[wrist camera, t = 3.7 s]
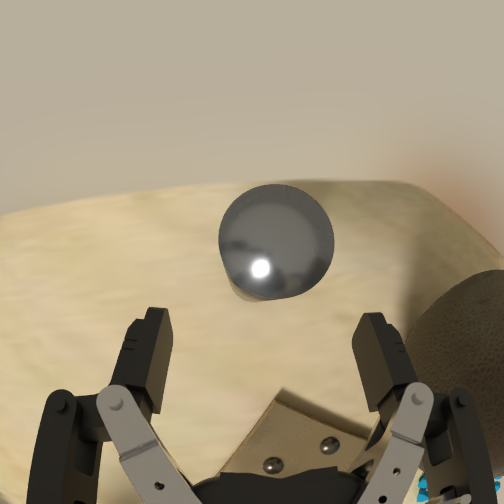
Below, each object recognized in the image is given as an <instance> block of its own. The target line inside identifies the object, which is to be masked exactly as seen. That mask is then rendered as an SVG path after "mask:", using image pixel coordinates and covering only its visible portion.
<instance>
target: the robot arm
mask: <svg viewBox="0 0 504 504" xmlns="http://www.w3.org/2000/svg"><path fill="white" fill-rule="evenodd" d="M124 339H125V340H124V341H123V344H122V349H121V350H120V353H119V356H118V360H117V363H116V366H115V369H114V372H113V376H112V379H111V382H110V383H109V385H108V386H107V387H105V388H104V389H102V390H101V391H100V393H98V394H94V395H86V396H74V395H73V394H72V393H71V392H69V391H67V390H64V389H59V390H56V391H54V392H52V393H51V394H50V395H49V397H48V398H47V401H46V404H45V407H44V411H43V415H42V418H41V422H40V426H39V430H38V434H37V439H36V443H35V448H34V453H33V458H32V464H31V470H30V476H29V483H28V491H27V500H26V504H96V501H97V488H98V478H99V469H100V461H101V453H102V446H103V442H108V441H113V443H114V445H115V447H116V449H117V451H118V453H119V456H120V457H119V460H120V463H121V465H122V467H123V469H124V471H125V473H126V475H127V476H128V478H129V480H130V481H131V483H132V485H133V486H134V488H135V490H136V491H137V493H138V494H139V496H140V497H141V499H142V500H143V502H144V503H145V504H402V502H403V500H404V498H405V496H406V494H407V492H408V490H409V488H410V485H411V483H412V481H413V479H414V476H415V474H416V472H417V469H418V467H419V464H420V462H421V459H423V465H424V470H425V477H426V483H427V490H428V498H429V501H428V502H427V504H498V503H497V495H496V489H495V483H494V477H493V472H492V467H491V462H490V457H489V453H488V449H487V445H486V441H485V437H484V434H483V430H482V427H481V423H480V420H479V417H478V414H477V411H476V407H475V404H474V402H473V399H472V396H471V394H470V393H469V392H468V391H467V390H466V389H464V388H455V389H453V390H452V391H451V392H450V393H449V394H443V393H434V392H432V391H431V390H430V388H429V387H428V386H426V385H425V384H423V383H420V382H419V380H418V378H417V376H416V373H415V370H414V368H413V365H412V363H411V360H410V358H409V355H408V353H407V352H406V348H405V346H404V344H403V341H402V338H401V336H400V334H399V332H398V331H397V330H396V329H395V327H394V326H393V325H392V324H387V322H386V320H385V318H384V316H383V314H382V313H381V312H374V313H364V314H363V315H362V317H361V319H360V322H359V324H358V326H357V328H356V330H355V332H354V335H353V338H352V349H353V352H354V356H355V359H356V363H357V366H358V370H359V373H360V377H361V381H362V385H363V388H364V392H365V396H366V400H367V404H368V408H369V412H375V411H379V415H380V416H379V417H378V419H377V421H376V423H375V425H374V427H373V429H372V431H371V433H370V435H369V437H368V439H367V441H366V443H365V445H364V447H363V449H362V451H361V452H360V454H359V455H358V456H357V457H356V459H355V460H354V461H353V462H352V464H351V465H350V467H349V468H348V470H347V472H344V471H338V467H337V466H333V467H326V468H318V469H310V470H307V471H304V472H301V473H298V474H295V475H292V476H288V477H285V478H274V477H268V476H263V475H258V474H254V473H235V472H220V476H216V477H212V478H208V479H206V480H203V481H201V482H199V483H197V484H195V485H194V486H193V485H192V483H191V482H190V481H189V480H188V478H187V477H186V476H185V474H184V473H183V471H182V470H181V469H180V467H179V466H178V465H177V463H176V462H175V461H174V459H173V458H172V457H171V455H170V454H169V452H168V451H167V449H166V448H165V446H164V444H163V443H162V441H161V440H160V438H159V437H158V435H157V433H156V432H155V430H154V428H153V427H152V425H151V423H150V422H151V417H152V413H154V414H160V411H161V405H162V399H163V393H164V388H165V382H166V377H167V372H168V366H169V361H170V356H171V351H172V346H173V331H172V326H171V322H170V317H169V312H168V309H167V308H157V307H149V308H148V309H147V312H146V315H145V318H144V319H136V320H135V321H134V322H133V323H132V324H131V325H130V326H129V327H128V330H127V333H126V335H125V338H124ZM448 429H449V433H450V437H451V441H452V446H453V454H452V449H451V445H450V440H449V436H448V432H447V430H448Z"/></svg>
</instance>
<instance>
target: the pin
mask: <svg viewBox="0 0 504 504" xmlns="http://www.w3.org/2000/svg"><path fill="white" fill-rule="evenodd" d="M219 250H220V254H221V258H222V261H223V264H224V267H225V270H226V273H227V276H228V279H229V282H230V285H231V287H232V289H233V291H234V292H235V293H236V294H237V295H238V296H239V297H240V298H242V299H244V300H246V301H250V302H259V301H268V300H276V299H283V298H289V297H294V296H297V295H300V294H302V293H304V292H306V291H308V290H309V289H311V288H312V287H314V286H315V285H316V284H317V283H318V282H319V281H320V280H321V279H322V277H323V276H324V275H325V273H326V272H327V270H328V268H329V266H330V264H331V261H332V257H333V253H334V233H333V229H332V225H331V223H330V220H329V218H328V216H327V214H326V213H325V211H324V210H323V208H322V207H321V206H320V205H319V203H318V202H317V201H316V200H314V199H313V198H312V197H311V196H309V195H308V194H306V193H305V192H303V191H301V190H299V189H297V188H294V187H291V186H287V185H280V184H269V185H263V186H259V187H255V188H253V189H250V190H249V191H247V192H245V193H243V194H242V195H241V196H239V197H238V198H237V199H236V200H235V201H234V202H233V203H232V204H231V205H230V207H229V208H228V209H227V211H226V213H225V214H224V217H223V219H222V221H221V225H220V229H219Z"/></svg>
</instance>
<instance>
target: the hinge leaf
mask: <svg viewBox="0 0 504 504" xmlns="http://www.w3.org/2000/svg"><path fill="white" fill-rule="evenodd" d="M366 441H367V439H366V438H363V437H360V436H358V435H355V434H352V433H350V432H347V431H345V430H342V429H340V428H337V427H335V426H333V425H330V424H328V423H325V422H323V421H321V420H319V419H316V418H314V417H312V416H310V415H307V414H305V413H303V412H301V411H299V410H297V409H294V408H292V407H290V406H288V405H286V404H284V403H282V402H280V401H278V400H276V399H274V400H273V401H272V403H271V404H270V406H269V407H268V408H267V410H266V411H265V413H264V414H263V416H262V417H261V418H260V420H259V421H258V423H257V424H256V425H255V427H254V428H253V429H252V431H251V432H250V433H249V435H248V436H247V437H246V439H245V440H244V441H243V443H242V444H241V445H240V447H239V448H238V449H237V450H236V452H235V453H234V454H233V455H232V457H231V458H230V459H229V460H228V462H227V463H226V464H225V465H224V467H223V468H222V469H221V470H220V471H219V473H218V474H217V475H216V476H220V472H235V473H254V474H258V475H263V476H268V477H274V478H285V477H288V476H292V475H295V474H298V473H301V472H304V471H307V470H310V469H318V468H326V467H333V466H337V467H338V471H344V472H347V470H348V468H349V467H350V465H351V464H352V462H353V461H354V460H355V459H356V457H357V456H358V455H359V454H360V452H361V451H362V449H363V447H364V445H365V443H366ZM216 476H215V477H216Z"/></svg>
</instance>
